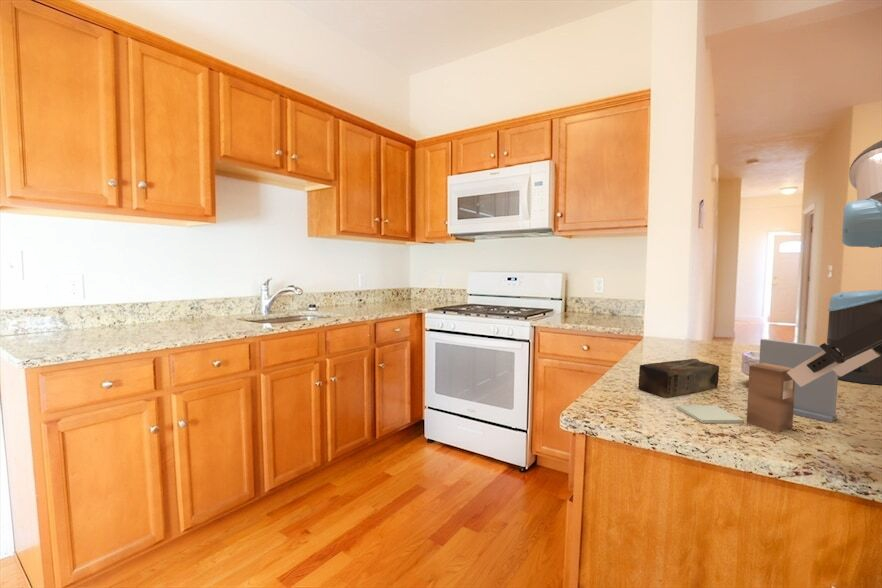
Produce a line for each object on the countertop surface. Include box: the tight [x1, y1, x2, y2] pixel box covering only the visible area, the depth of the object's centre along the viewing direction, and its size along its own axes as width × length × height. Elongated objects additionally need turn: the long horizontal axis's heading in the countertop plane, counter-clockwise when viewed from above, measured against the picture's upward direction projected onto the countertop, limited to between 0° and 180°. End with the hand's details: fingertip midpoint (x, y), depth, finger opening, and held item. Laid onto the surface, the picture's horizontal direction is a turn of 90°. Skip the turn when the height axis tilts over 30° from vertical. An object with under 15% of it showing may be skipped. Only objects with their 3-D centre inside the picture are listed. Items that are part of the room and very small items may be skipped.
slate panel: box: [759, 338, 840, 423], centre depth 82 cm, size 12×4×14 cm, turn 33°
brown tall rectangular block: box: [746, 363, 795, 433], centre depth 75 cm, size 5×5×11 cm
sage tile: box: [676, 404, 745, 424], centre depth 80 cm, size 8×8×1 cm
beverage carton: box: [637, 358, 720, 398], centre depth 97 cm, size 8×19×7 cm, turn 114°
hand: (814, 374), depth 68 cm, fingers open, 13 cm apart
